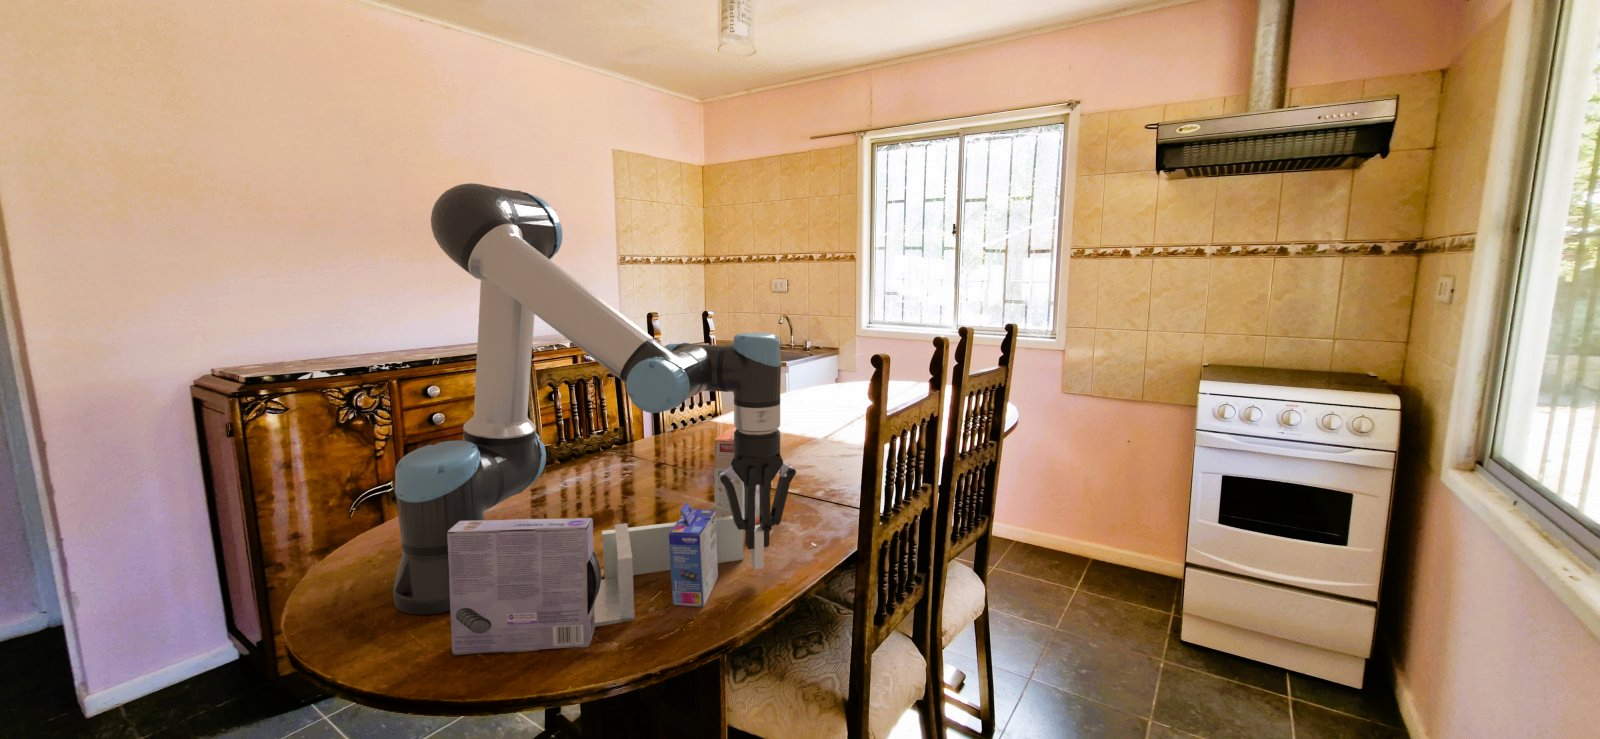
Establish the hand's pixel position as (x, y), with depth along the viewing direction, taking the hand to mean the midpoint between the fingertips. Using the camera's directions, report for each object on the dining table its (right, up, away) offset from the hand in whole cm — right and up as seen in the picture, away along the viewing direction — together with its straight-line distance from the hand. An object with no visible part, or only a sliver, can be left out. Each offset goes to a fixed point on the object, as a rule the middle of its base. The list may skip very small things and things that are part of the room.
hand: (757, 565), depth 105 cm
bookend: (-23, -4, -7) cm, 25 cm away
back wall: (-15, -2, +5) cm, 16 cm away
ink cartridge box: (-10, -3, -3) cm, 11 cm away
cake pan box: (-31, -6, -17) cm, 36 cm away
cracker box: (-5, 0, +20) cm, 20 cm away
